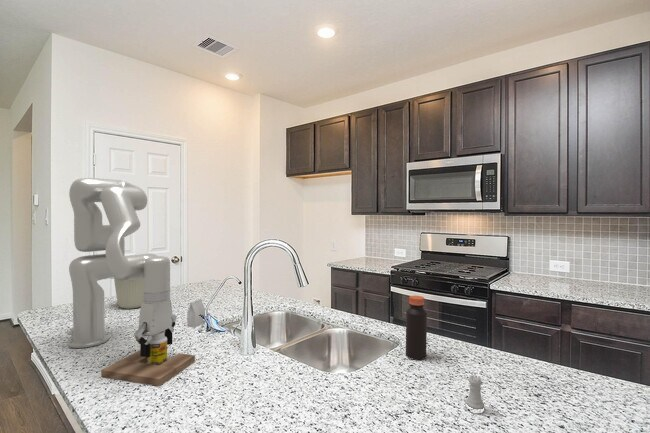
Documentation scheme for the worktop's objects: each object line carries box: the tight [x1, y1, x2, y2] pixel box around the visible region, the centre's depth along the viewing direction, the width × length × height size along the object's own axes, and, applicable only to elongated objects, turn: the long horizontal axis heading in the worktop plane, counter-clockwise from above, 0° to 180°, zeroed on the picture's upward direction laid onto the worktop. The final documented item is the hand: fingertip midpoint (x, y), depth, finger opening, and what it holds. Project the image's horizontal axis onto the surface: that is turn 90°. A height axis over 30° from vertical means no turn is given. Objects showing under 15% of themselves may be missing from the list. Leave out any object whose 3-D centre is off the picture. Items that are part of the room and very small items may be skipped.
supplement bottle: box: [147, 331, 168, 365], centre depth 109 cm, size 6×6×10 cm
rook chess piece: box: [465, 374, 485, 409], centre depth 86 cm, size 4×4×8 cm
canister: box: [113, 277, 144, 310], centre depth 172 cm, size 18×18×21 cm
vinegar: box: [405, 294, 428, 360], centre depth 116 cm, size 7×7×20 cm
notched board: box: [100, 349, 196, 387], centre depth 106 cm, size 20×16×2 cm
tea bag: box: [186, 298, 206, 328], centre depth 146 cm, size 4×7×10 cm, turn 164°
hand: (157, 350), depth 109 cm, fingers open, 9 cm apart
